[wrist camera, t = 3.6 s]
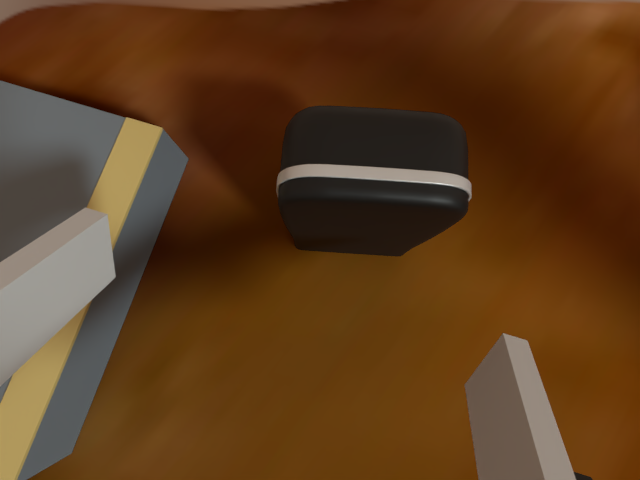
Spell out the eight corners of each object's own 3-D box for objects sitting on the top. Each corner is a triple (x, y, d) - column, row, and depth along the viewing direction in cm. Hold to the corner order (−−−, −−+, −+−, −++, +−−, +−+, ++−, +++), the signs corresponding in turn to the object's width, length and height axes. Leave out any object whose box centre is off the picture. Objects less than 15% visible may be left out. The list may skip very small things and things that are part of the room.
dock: (188, 158, 24) (161, 127, 20) (71, 453, 21) (10, 489, 16) (1, 102, 24) (-63, 60, 20) (-141, 380, 21) (-250, 396, 17)
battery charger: (407, 197, 23) (490, 94, 12) (405, 258, 23) (493, 208, 11) (296, 190, 23) (276, 81, 12) (291, 250, 23) (265, 193, 11)
